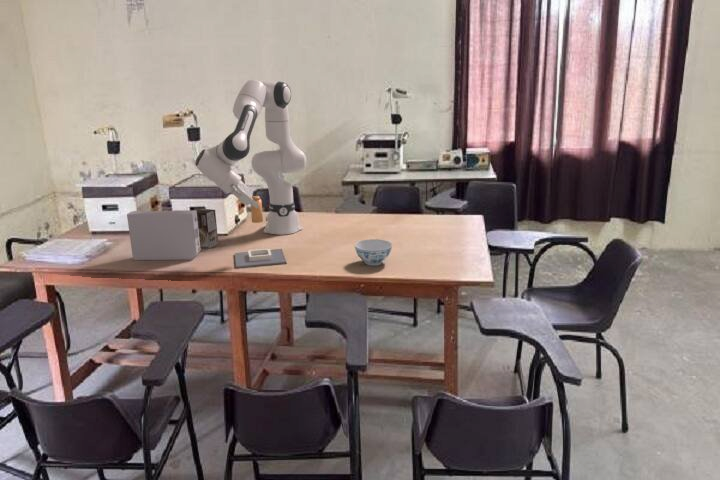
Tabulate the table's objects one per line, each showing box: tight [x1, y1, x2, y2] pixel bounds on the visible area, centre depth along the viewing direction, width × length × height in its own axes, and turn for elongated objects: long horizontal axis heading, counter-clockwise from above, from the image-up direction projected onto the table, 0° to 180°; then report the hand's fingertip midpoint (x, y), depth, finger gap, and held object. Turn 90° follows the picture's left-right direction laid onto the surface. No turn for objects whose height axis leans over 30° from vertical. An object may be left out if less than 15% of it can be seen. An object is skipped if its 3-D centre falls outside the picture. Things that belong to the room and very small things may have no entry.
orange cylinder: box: [250, 195, 264, 224], centre depth 239 cm, size 4×4×10 cm
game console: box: [126, 209, 201, 261], centre depth 246 cm, size 6×27×20 cm, turn 88°
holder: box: [234, 248, 288, 269], centre depth 244 cm, size 18×20×3 cm
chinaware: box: [354, 238, 393, 267], centre depth 236 cm, size 15×15×8 cm
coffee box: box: [195, 207, 219, 249], centre depth 263 cm, size 9×6×16 cm
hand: (257, 205), depth 238 cm, fingers closed on orange cylinder, 4 cm apart
